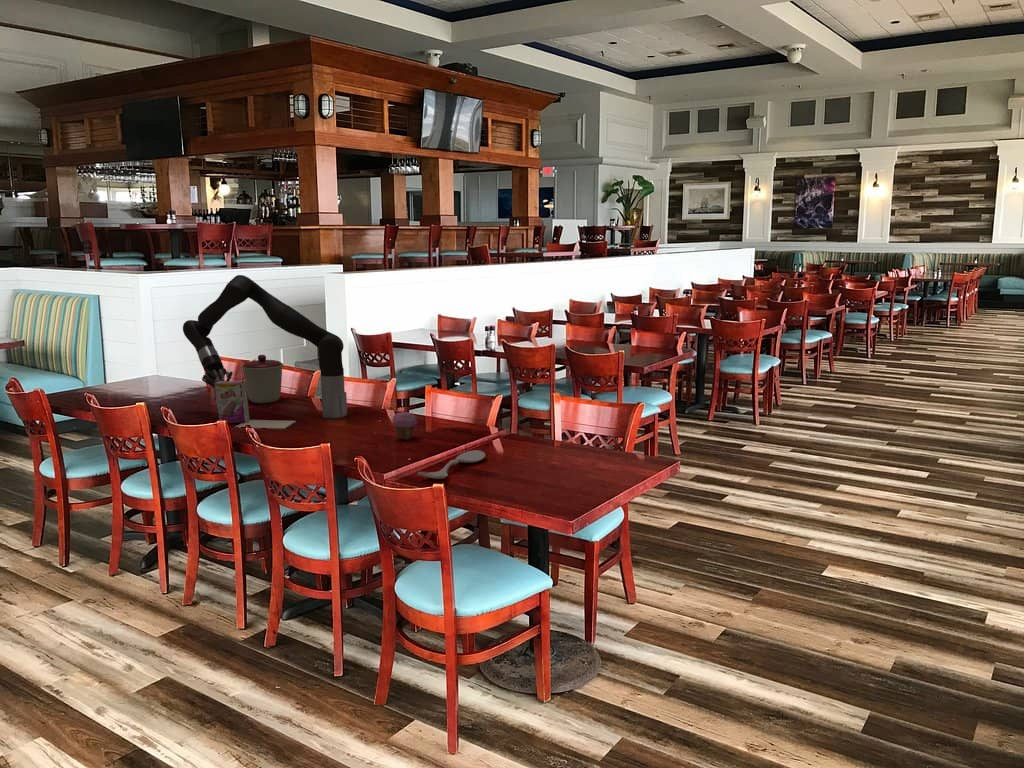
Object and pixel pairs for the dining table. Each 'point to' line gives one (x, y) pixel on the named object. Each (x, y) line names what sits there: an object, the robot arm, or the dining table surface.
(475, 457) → the spoon
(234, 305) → the robot arm
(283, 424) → the placemat
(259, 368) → the canister
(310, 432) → the dining table surface
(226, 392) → the candy bar box
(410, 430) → the cupcake
